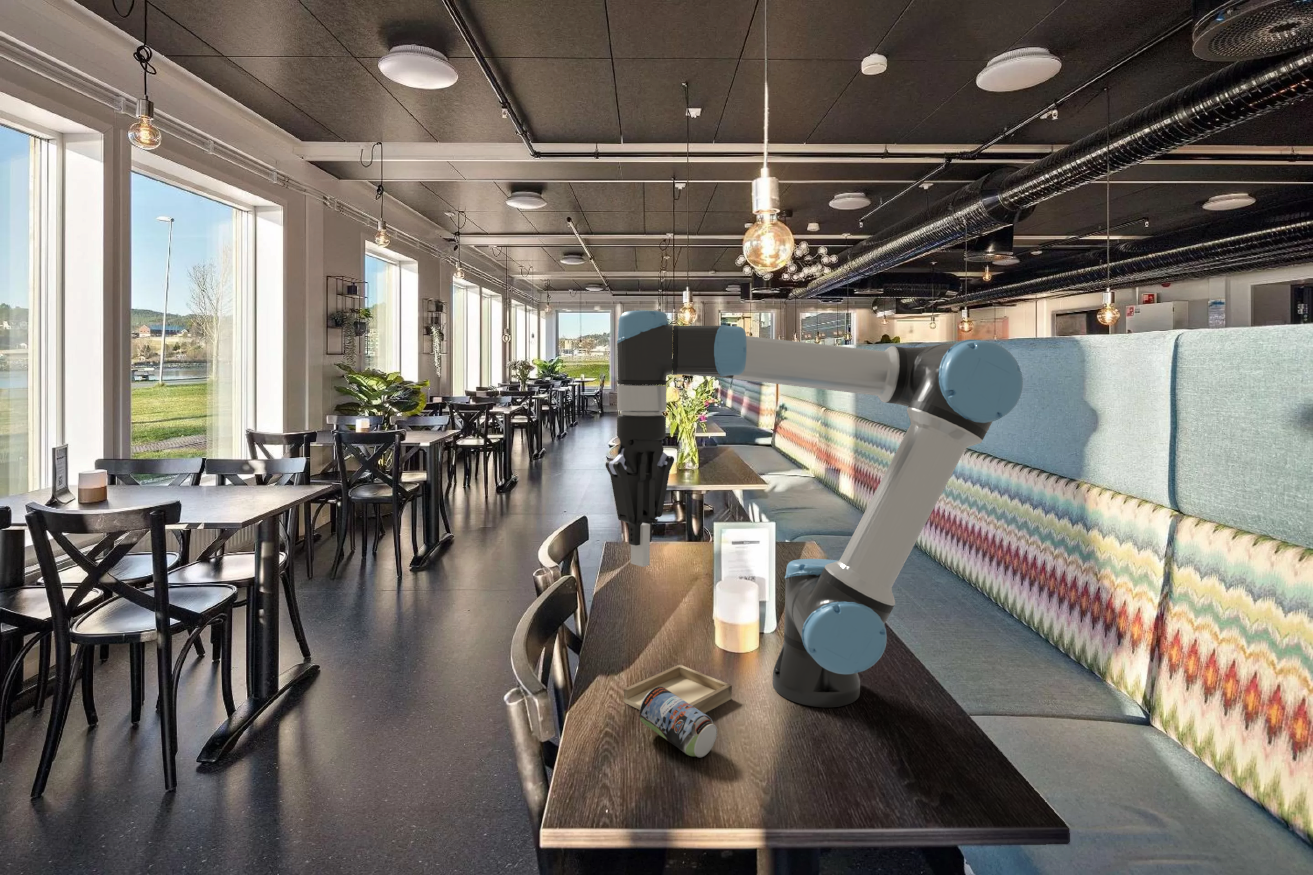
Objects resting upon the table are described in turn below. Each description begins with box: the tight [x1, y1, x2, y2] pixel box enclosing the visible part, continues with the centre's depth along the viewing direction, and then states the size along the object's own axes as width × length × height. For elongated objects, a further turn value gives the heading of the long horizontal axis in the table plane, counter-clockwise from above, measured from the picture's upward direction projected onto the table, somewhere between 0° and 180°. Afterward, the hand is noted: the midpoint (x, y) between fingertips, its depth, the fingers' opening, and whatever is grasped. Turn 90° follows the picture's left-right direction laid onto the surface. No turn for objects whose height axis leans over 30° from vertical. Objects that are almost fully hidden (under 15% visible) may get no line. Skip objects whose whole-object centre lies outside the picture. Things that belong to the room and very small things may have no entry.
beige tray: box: [623, 664, 733, 714], centre depth 117 cm, size 12×14×2 cm
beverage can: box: [639, 687, 718, 758], centre depth 102 cm, size 6×7×12 cm
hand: (640, 564), depth 107 cm, fingers closed
